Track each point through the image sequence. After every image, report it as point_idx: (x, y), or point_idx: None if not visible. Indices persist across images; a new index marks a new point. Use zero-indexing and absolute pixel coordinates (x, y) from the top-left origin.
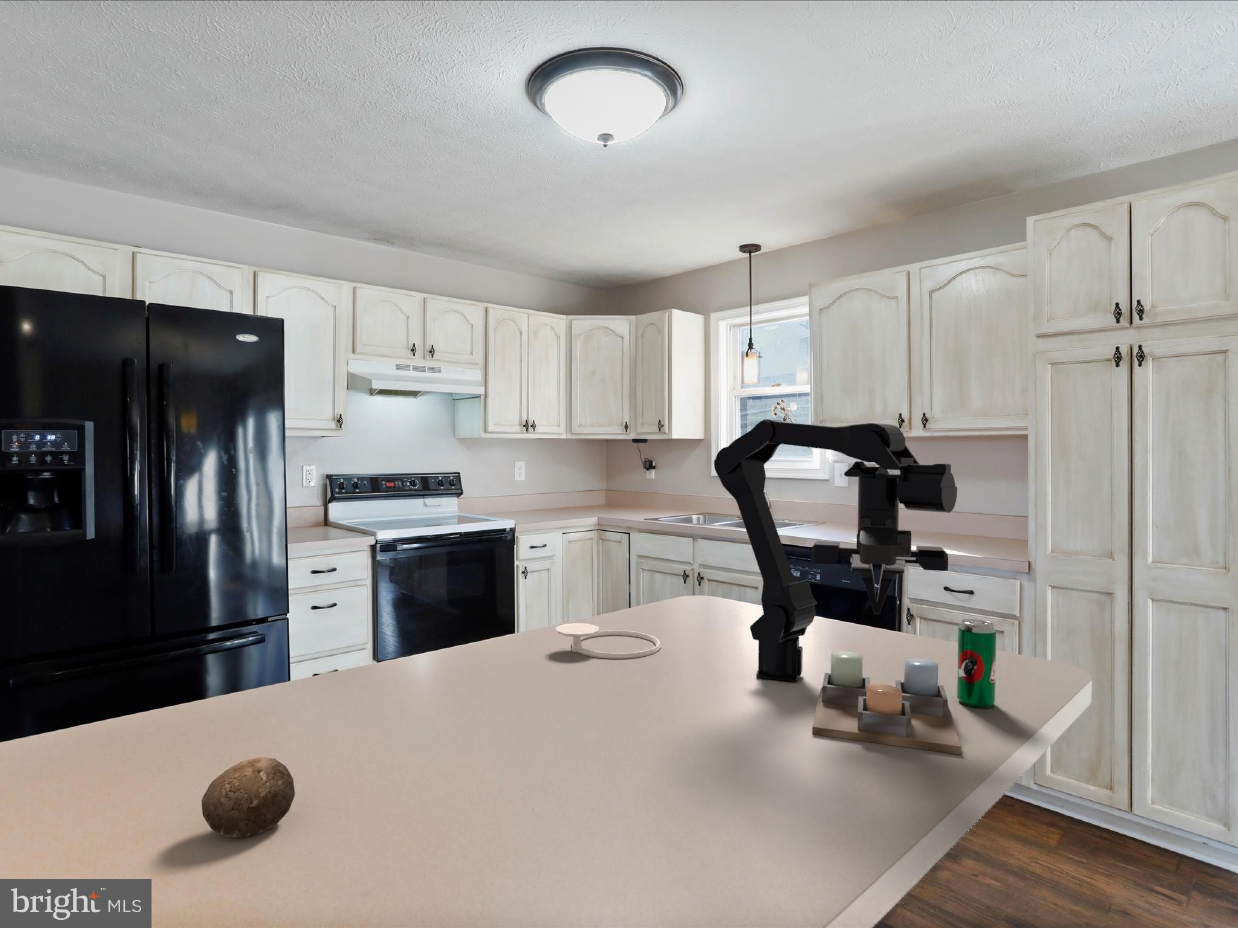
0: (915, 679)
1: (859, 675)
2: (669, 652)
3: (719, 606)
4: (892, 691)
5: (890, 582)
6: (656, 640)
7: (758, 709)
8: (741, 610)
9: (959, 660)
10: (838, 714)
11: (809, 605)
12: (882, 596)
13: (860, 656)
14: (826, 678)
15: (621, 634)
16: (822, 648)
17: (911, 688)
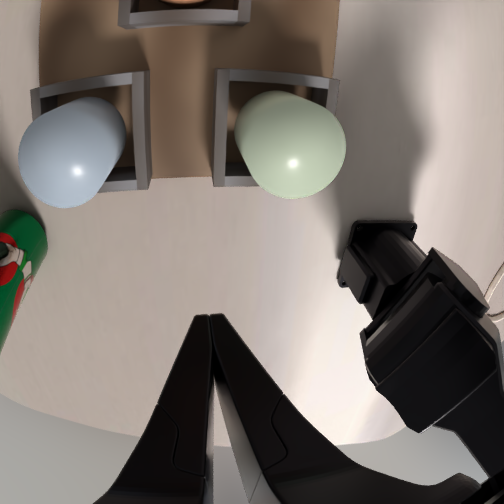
0: (86, 104)
1: (248, 110)
2: (482, 283)
3: (376, 430)
4: None
5: (128, 473)
6: None
7: (426, 57)
8: (357, 433)
9: (10, 277)
10: (289, 9)
11: (404, 361)
12: (183, 385)
13: (253, 156)
14: None
15: (501, 314)
16: (283, 384)
17: (104, 103)
